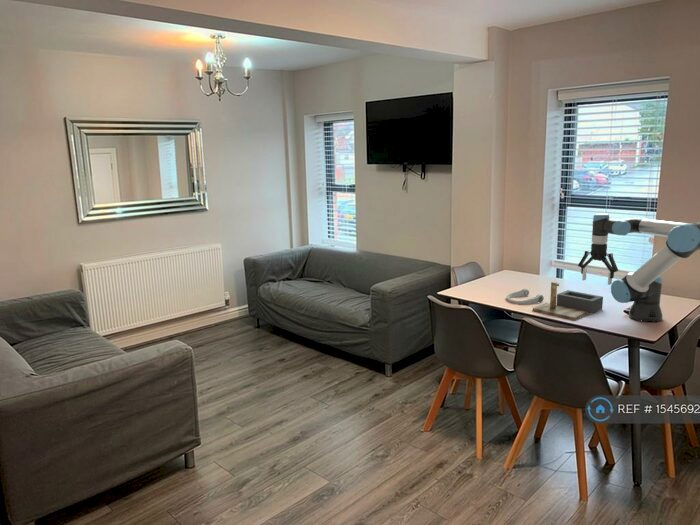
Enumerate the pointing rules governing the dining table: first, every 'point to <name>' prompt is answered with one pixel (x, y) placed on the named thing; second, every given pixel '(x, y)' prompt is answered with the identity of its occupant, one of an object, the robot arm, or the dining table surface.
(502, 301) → the dining table surface
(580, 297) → the grey storage bin
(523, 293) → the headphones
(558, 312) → the hook board
